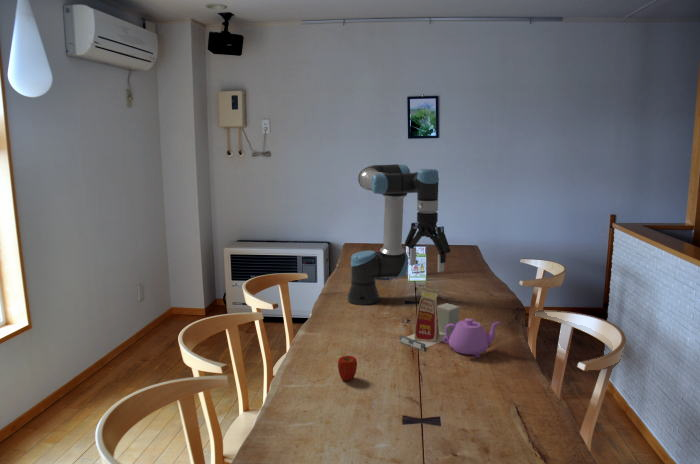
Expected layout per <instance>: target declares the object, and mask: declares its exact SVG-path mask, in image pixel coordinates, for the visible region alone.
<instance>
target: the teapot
mask: <svg viewBox="0 0 700 464" xmlns="http://www.w3.org/2000/svg"><path fill="white" fill-rule="evenodd" d="M464 319H465V320H460V321H459V320H458V323H457V324H456V325H455V324H448V325H447V326H446V327H445V332H446V336H447V337H446V336H445V337H444V338H443V341H442V342H443V343H444V344H448V345H449V346H450V348H451V349H452V350H453V351H454V352H456V353H459V354H461V355H470V356H471V355H473V357H474V358H476V359H478V358H481V354H482V353H484V352H485V351H486V350H487V349H488V348H489V345H490V344H491V343H492V342H493V341H494V339H495V337H496V328H497V326H498V325H499V324H500V323H501V321H500V320H499V321H495V322H493V323H491V327H490V331H489V333H488V334H487V331H486V330H485V329H484V327H483V326H482V324H481V323H480V322H478V321H476V320H474V319H473V318H469V317H468V318H464ZM450 326H453V327H454V328H453V329H452V331H451V333H450V336H449V334H448V327H450ZM445 338H447V339H446V340H445Z"/></svg>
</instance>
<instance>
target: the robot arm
mask: <svg viewBox="0 0 700 464" xmlns="http://www.w3.org/2000/svg"><path fill="white" fill-rule="evenodd" d="M357 181H358V185H359V186H360V187H361V188H363V189H364V190H367V191H371V192H373V194H377V195H382V196H383V197H384V215H383V220H384V221H383V241H382V242H383V244H382V247H381V248H379V253H376V251H374V250H362V251H357V252H355V253H353V254H351V257H350V281H351V282H350V288H349V292H348V294H347V302H348V301H349V302H348V303H350V304H352V305H359V306H366V305H367V306H368V304H369V305H373V304H377V303H379V302H380V294H379V291H378V288H377V285H376V282H377V281H376V279H390V278H392V279H393V278H394V279H395V278H396V279H397V278H402V277H404V276H405V275H406V273H407V272H408V268H409V266H415V265H417V247H416V245H417V244H418V242H419V241H420V240H421V239H422V237H426V238H430V239H429V240H431V241H432V242H433V244H434V245H435V248H436V249H437V251H438V253H437V272H438V273H440V272H444V271H445V263H446V262H447V261H446V256H447V254H449V253H451V248H450V244H449V242H448V240H447V236H446V234H445V227H444V226H442V225H441V226H437V223H438V219H439V216H438V215H439V213H438V212H437V211H439V181H440V178H439V171H438V170H437V169H435V168H434V169H433V168H422V169H418V171H416V172H415V171H414V172H411V170H410V168H409V167H408V166H407V165H406V164H399V163H398V164H396V163H395V164H374V165H370V166H367V167H364V168H363V169H362V170H361V171H360V172H359V174H358V177H357ZM413 193H414V194H416V195H417V198H416V199H417V200H416V201H417V209H416V210H417V211H418V212H417V213H416V222H411V224H410V229H409V232H408V233H407V236H406V238H405V241H404V246H407V248H408V254H407V252H405V249H404V247H402V244H403V219H404V218H403V217H404V199H405V198H406V197H407V196H408V194H413Z"/></svg>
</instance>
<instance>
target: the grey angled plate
mask: <svg viewBox="0 0 700 464" xmlns="http://www.w3.org/2000/svg"><path fill="white" fill-rule="evenodd" d="M445 336H446V334H443V333H440V332H439V338H438V340H437V341H436V342H427V341H416V340H414V337H415V333H413V334H411V335H408V336H405V335H399V339H398V340H399V343H400V344H403V345H405V346H408V347H410V348H413V349H416V350H419V351H421V352H426V351H427V349H426V348H428V347H431V346H433V345H435V344H438V343H441V342H443V338H444V337H445ZM449 336H450V335H449ZM446 337H447V336H446ZM445 340H446V341H447V338H445Z"/></svg>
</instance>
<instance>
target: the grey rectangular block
mask: <svg viewBox="0 0 700 464" xmlns="http://www.w3.org/2000/svg"><path fill="white" fill-rule="evenodd" d="M459 311H460V306H459V305H455V304H452V303H451V304H450V303H447V302H446V303H442V304H439V305H437V316H438V327H439V332H440V333H443V334H446V332H445V327H446V326H447V325H448V324H455V325H456V324H457V323H458V322H459V317H460V316H459V314H460V312H459ZM453 328H454V327H453V326H450V327H448V334H449V335H450V333H451V331H452V329H453Z"/></svg>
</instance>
